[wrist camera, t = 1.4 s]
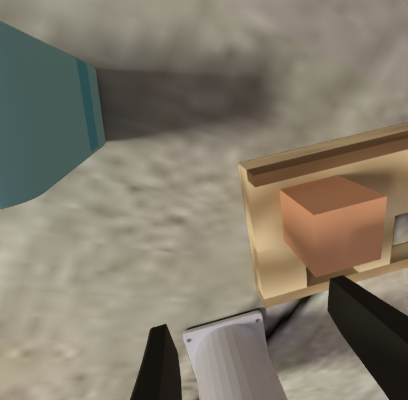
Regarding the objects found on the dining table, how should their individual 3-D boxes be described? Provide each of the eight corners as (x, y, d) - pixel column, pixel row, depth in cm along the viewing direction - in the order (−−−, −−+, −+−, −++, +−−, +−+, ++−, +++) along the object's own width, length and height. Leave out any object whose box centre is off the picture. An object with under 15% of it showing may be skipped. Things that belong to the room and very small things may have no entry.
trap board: (444, 239, 26) (498, 266, 22) (257, 292, 24) (277, 331, 20) (472, 106, 21) (550, 108, 16) (238, 163, 19) (259, 180, 15)
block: (336, 227, 20) (381, 259, 16) (283, 240, 20) (315, 277, 16) (337, 174, 19) (387, 196, 15) (279, 189, 18) (313, 215, 14)
